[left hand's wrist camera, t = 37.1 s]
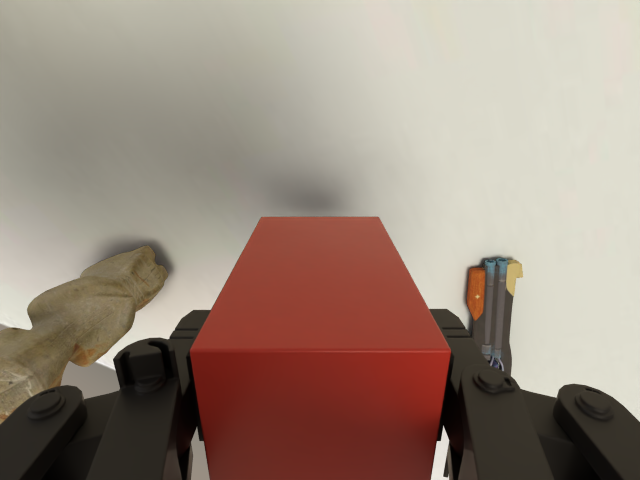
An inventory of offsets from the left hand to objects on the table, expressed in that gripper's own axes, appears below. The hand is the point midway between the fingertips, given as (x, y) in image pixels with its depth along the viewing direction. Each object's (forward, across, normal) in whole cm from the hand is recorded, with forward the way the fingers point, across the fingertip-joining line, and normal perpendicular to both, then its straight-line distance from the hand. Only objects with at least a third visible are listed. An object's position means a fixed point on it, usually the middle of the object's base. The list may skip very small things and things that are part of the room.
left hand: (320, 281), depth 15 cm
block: (+1, 0, 0) cm, 1 cm away
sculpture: (+16, -17, -7) cm, 24 cm away
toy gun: (+16, +14, -16) cm, 26 cm away
